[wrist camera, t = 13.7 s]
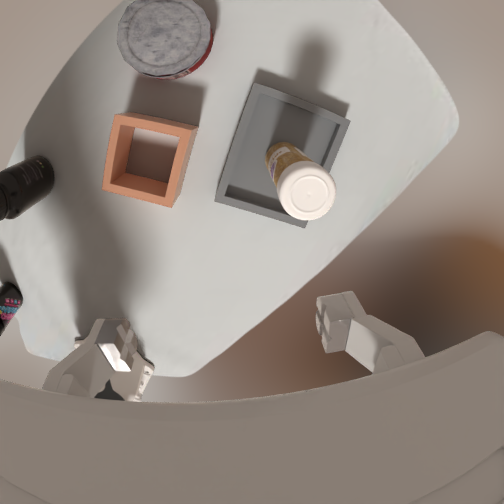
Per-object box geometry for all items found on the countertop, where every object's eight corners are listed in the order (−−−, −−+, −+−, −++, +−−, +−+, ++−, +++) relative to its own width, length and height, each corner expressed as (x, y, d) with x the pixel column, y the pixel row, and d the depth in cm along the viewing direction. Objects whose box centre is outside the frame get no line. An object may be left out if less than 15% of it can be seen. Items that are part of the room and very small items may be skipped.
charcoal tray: (301, 222, 37) (304, 228, 35) (215, 195, 35) (214, 201, 33) (344, 119, 30) (350, 120, 28) (253, 83, 28) (254, 82, 26)
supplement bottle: (45, 205, 33) (-2, 242, 23) (20, 179, 31) (-29, 209, 20) (62, 173, 31) (10, 204, 21) (36, 145, 29) (-18, 168, 18)
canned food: (187, 18, 26) (211, -24, 17) (213, 74, 30) (245, 40, 21) (106, 42, 23) (106, -2, 14) (129, 103, 27) (133, 70, 18)
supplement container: (19, 309, 44) (-2, 340, 35) (0, 288, 41) (-23, 317, 32) (27, 297, 43) (4, 330, 34) (7, 275, 40) (-19, 305, 31)
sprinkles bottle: (262, 144, 31) (276, 169, 19) (300, 139, 31) (336, 162, 19) (267, 180, 33) (283, 226, 22) (303, 175, 33) (338, 218, 21)
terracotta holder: (180, 193, 34) (171, 207, 30) (117, 178, 33) (101, 189, 28) (198, 126, 30) (191, 130, 26) (131, 112, 28) (114, 114, 24)
